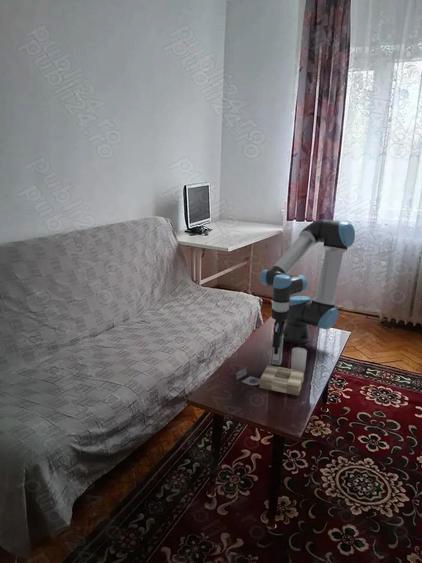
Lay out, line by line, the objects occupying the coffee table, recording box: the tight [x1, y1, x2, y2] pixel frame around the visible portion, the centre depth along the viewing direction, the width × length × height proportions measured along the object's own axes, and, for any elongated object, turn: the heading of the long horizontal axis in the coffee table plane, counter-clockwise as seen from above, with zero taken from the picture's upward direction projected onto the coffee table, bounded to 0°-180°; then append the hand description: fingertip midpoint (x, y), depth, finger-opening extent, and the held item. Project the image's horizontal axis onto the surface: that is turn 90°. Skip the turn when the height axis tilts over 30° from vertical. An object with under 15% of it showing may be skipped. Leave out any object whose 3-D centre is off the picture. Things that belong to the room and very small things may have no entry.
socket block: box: [259, 364, 305, 396], centre depth 174 cm, size 14×16×4 cm
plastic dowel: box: [290, 347, 308, 372], centre depth 188 cm, size 6×6×9 cm
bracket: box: [236, 368, 260, 386], centre depth 176 cm, size 7×10×3 cm, turn 48°
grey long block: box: [270, 334, 284, 366], centre depth 190 cm, size 4×4×14 cm
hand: (276, 357), depth 191 cm, fingers closed on grey long block, 4 cm apart
